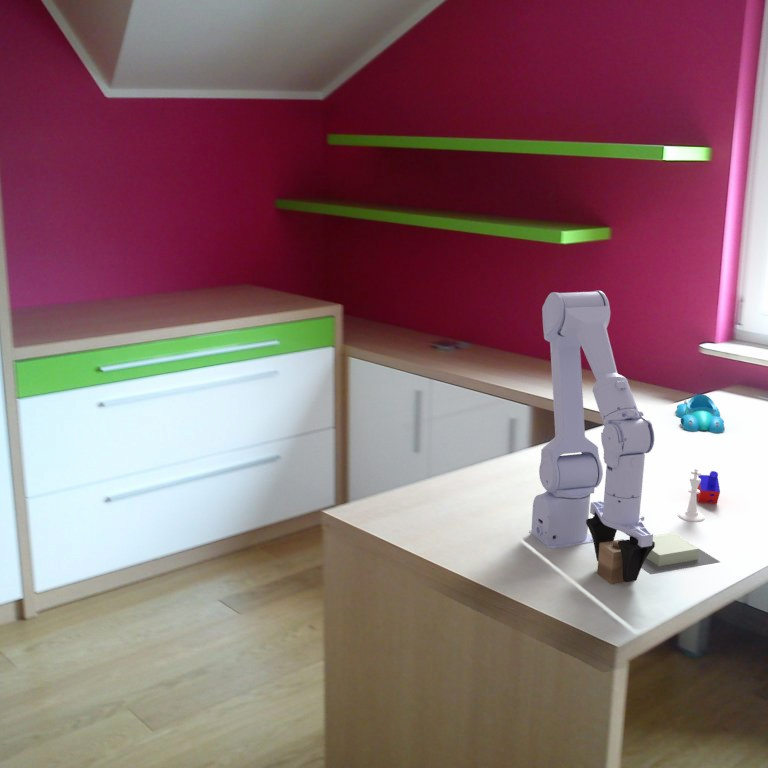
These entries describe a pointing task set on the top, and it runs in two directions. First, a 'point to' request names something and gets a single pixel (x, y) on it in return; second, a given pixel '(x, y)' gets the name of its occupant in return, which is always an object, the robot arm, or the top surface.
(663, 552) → the base block
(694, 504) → the chess piece
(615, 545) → the walnut snap block
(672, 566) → the build mat
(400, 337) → the top surface
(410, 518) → the top surface
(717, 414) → the toy car
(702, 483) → the toy building block
